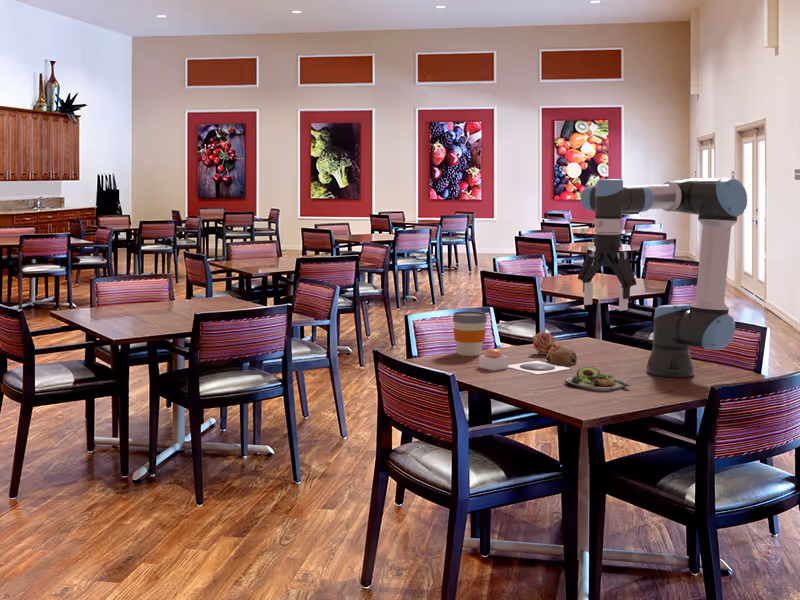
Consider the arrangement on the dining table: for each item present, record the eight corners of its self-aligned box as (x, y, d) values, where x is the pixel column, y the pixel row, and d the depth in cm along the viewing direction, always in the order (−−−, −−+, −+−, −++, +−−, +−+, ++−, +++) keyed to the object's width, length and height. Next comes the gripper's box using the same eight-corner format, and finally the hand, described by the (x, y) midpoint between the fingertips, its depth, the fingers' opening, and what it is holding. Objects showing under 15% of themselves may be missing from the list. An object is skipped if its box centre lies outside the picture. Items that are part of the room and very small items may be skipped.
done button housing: (494, 364, 299) (494, 353, 299) (508, 368, 294) (508, 356, 293) (479, 367, 295) (479, 355, 295) (492, 370, 290) (493, 358, 289)
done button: (494, 357, 298) (494, 348, 297) (504, 359, 294) (504, 350, 293) (483, 358, 295) (483, 350, 294) (493, 361, 291) (493, 352, 290)
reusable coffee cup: (445, 353, 318) (446, 313, 316) (464, 349, 328) (464, 310, 326) (474, 358, 311) (475, 317, 309) (492, 353, 321) (493, 313, 319)
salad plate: (642, 386, 269) (643, 372, 269) (613, 396, 257) (613, 381, 256) (588, 377, 283) (589, 363, 282) (558, 385, 270) (558, 371, 269)
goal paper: (536, 361, 306) (536, 360, 306) (570, 369, 293) (571, 368, 293) (504, 366, 296) (504, 365, 296) (537, 375, 283) (537, 373, 283)
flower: (524, 347, 323) (529, 332, 318) (543, 340, 327) (548, 326, 321) (539, 365, 317) (544, 350, 312) (558, 358, 321) (564, 343, 316)
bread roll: (563, 376, 299) (573, 357, 296) (539, 360, 304) (549, 341, 301) (574, 371, 307) (584, 352, 304) (551, 356, 312) (560, 337, 309)
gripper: (567, 231, 254) (565, 303, 256) (632, 236, 233) (629, 313, 236) (585, 231, 258) (583, 301, 261) (651, 235, 237) (648, 311, 240)
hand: (605, 307), depth 248 cm, fingers open, 13 cm apart
